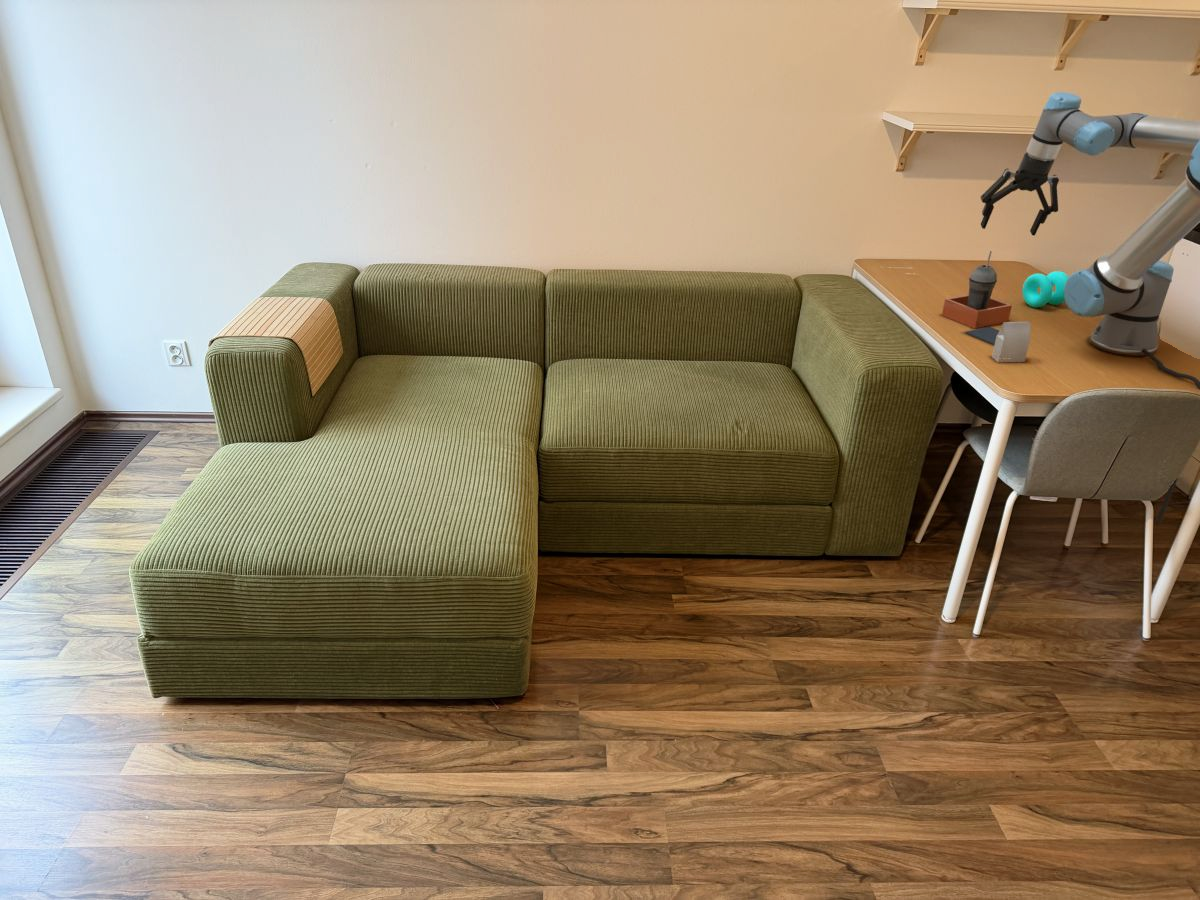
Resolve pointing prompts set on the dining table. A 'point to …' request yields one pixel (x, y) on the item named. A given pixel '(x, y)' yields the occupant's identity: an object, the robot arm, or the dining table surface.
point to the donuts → (1045, 289)
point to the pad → (985, 334)
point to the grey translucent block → (1012, 342)
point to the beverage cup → (981, 286)
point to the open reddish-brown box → (976, 312)
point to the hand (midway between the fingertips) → (1007, 229)
